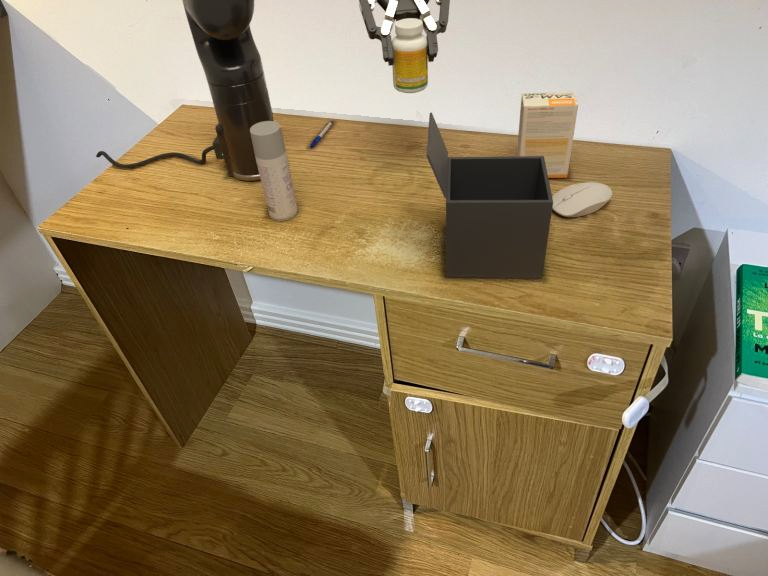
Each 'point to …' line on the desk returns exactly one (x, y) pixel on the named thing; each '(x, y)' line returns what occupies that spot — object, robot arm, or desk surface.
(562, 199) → the computer mouse
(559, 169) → the supplement box
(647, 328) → the desk surface
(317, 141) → the ballpoint pen
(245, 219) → the desk surface
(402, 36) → the supplement bottle
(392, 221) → the desk surface
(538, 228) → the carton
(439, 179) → the flap
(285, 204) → the container
